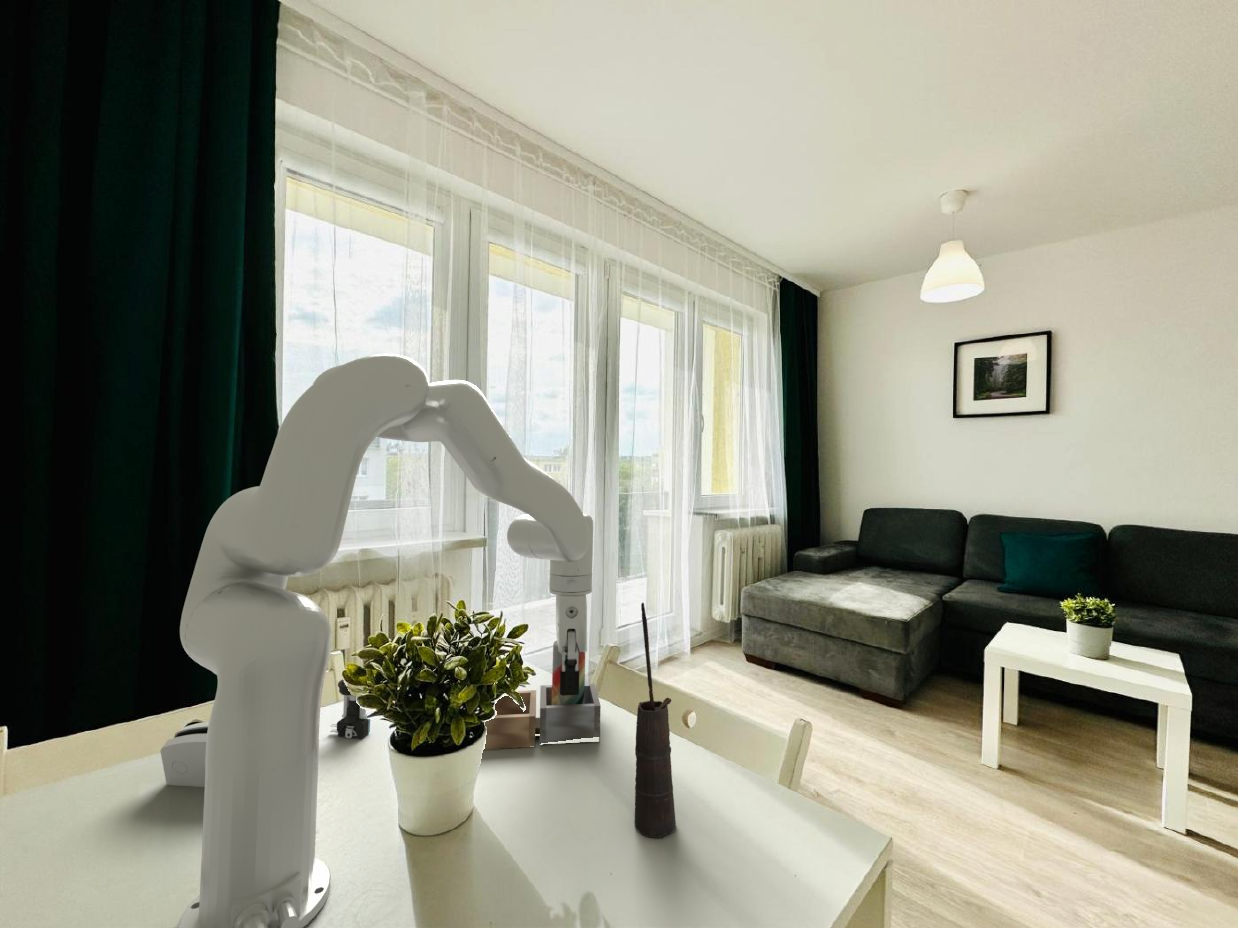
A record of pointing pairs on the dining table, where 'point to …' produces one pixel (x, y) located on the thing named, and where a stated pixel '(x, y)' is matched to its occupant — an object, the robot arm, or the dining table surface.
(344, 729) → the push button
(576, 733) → the bottle stand
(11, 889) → the dining table surface
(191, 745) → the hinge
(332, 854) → the dining table surface
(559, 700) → the lotion bottle
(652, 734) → the butter churn
